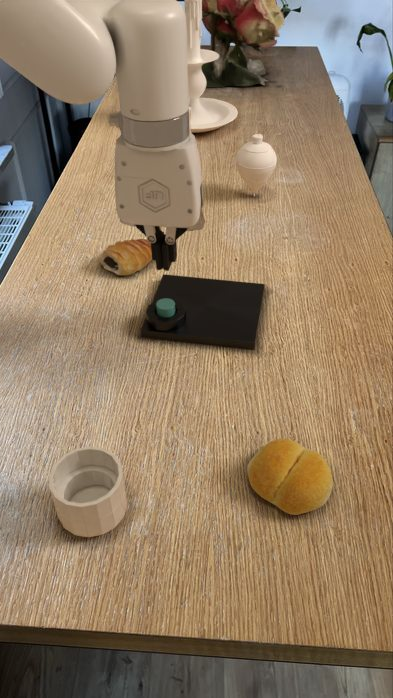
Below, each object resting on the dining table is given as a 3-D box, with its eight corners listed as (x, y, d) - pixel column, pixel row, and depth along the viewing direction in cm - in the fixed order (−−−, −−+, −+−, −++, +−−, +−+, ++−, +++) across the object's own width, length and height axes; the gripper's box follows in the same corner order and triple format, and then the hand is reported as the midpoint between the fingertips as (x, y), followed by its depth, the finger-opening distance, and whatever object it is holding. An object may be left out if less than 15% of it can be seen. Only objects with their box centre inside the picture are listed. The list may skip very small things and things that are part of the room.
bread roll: (308, 531, 60) (313, 509, 57) (236, 486, 64) (237, 464, 61) (345, 477, 65) (351, 454, 62) (276, 439, 69) (278, 416, 66)
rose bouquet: (283, 87, 162) (293, -43, 142) (177, 88, 162) (173, -41, 142) (272, 59, 181) (280, -58, 162) (178, 61, 181) (174, -56, 161)
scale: (141, 337, 83) (139, 321, 81) (163, 281, 93) (162, 265, 91) (254, 350, 81) (255, 333, 79) (264, 291, 91) (265, 275, 89)
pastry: (138, 243, 102) (136, 224, 99) (166, 258, 98) (165, 238, 96) (96, 266, 97) (94, 246, 94) (124, 282, 93) (122, 262, 91)
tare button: (154, 317, 82) (154, 308, 81) (159, 306, 84) (158, 297, 83) (173, 319, 82) (172, 310, 81) (176, 307, 84) (176, 299, 83)
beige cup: (48, 534, 60) (37, 500, 56) (72, 476, 65) (63, 442, 61) (116, 545, 59) (110, 511, 55) (135, 486, 64) (130, 451, 60)
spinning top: (226, 196, 114) (227, 135, 106) (252, 183, 118) (255, 124, 111) (256, 209, 110) (260, 147, 102) (281, 195, 114) (287, 134, 106)
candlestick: (142, 148, 132) (131, 7, 114) (159, 109, 151) (152, -18, 132) (233, 151, 130) (238, 8, 112) (239, 111, 149) (244, -18, 130)
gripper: (81, 135, 64) (102, 275, 76) (216, 143, 62) (216, 286, 74) (101, 111, 69) (118, 245, 82) (227, 117, 67) (225, 254, 79)
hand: (165, 264), depth 78 cm, fingers closed
